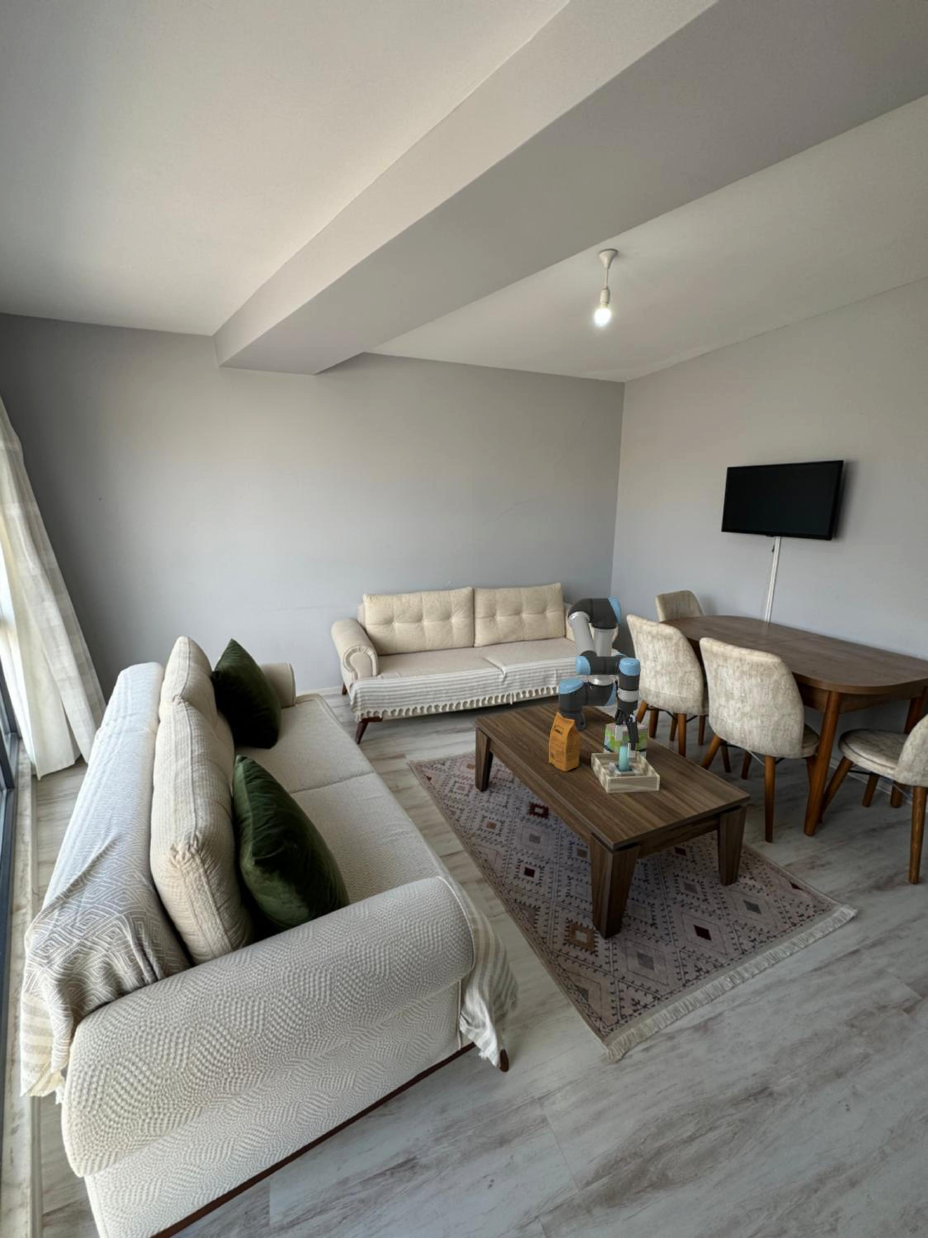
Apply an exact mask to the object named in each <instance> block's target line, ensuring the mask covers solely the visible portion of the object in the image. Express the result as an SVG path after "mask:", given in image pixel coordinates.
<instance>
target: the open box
mask: <svg viewBox="0 0 928 1238" xmlns="http://www.w3.org/2000/svg"><path fill="white" fill-rule="evenodd" d="M619 753H620V752H616V753H604V752H600V753H599V752H597V753H591V756H590V757H591V758H590V759H591V763H590V764H591V765H590V767H591V770H592V771H593V772H594V774H595V776H596V777H597V779H598V781H599V782H600V784H601V786H602V787H603V789H604V790H605V792H606V794H620V793H622V794H623V793H639V792H640V793H641V792H659V791H660V782H661V781H660V780H661V776H660V775H659V774H658V772H657V771H656V770H655V769H654V767H653V766H652V765H651V764H650V762H649V761H648V760H647V759H646V758H644V757H643V756H642V755H641V753H640V752H639V751H638V752H636V753H635V758H630V765H629V771H628V772H619Z"/></svg>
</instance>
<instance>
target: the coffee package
mask: <svg viewBox="0 0 928 1238" xmlns="http://www.w3.org/2000/svg"><path fill="white" fill-rule="evenodd" d="M575 723H576V721H575V720H572V719H567V718H563V717H562V715H561V714H560V713H559V712H558V711H557V712H556V715H555V716H554V720H553V723H552V726H551V729H550V735H549V743H548V763H550V764H552V765H553V766H554V767H555V768H556V769H557V770H560V771H562V772H568V771H570V770H573V769H576V768H577V767H579V766H580V761H579V760H580V745H581V743H580V740H581V734H580V732H579V731H578V730H577V728H576V726H575Z"/></svg>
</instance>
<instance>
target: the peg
mask: <svg viewBox="0 0 928 1238" xmlns="http://www.w3.org/2000/svg"><path fill="white" fill-rule="evenodd" d="M629 765H630V758H628V746H621V747H620V753H619V772H628V771H629Z"/></svg>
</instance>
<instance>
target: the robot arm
mask: <svg viewBox="0 0 928 1238" xmlns="http://www.w3.org/2000/svg"><path fill="white" fill-rule="evenodd" d="M566 615H567V617H566V618H567V623H568V626H569V627H570V628H571V632H572V635H573V638H574V639H573V640H574V643H575V648H576V650H577V651H576V652H577V655H578V656H576V657H575V659H574V661H575V662H574V667H575V673H576V674H577V675H578V676H588V677H587V681H584V680H583V679H582V678H580V677H569V678H565V679H562V680H561V681H560V682H559V685H558V689H557V690H558V710H557V712H559V713H560V714H561V715H562V717H563V718H567V719H572V720H575V721H576V723H575V726H576V728H577V730H578V732H579V731H582V730H584V729H585V728H586V726H587V725H586V723H587V722H586V718H585V716H584V715H585V714H584V712H583V711H584V710H583V707H609V706H612V705H613V704H614V702H615V701H616V697H617V696H618V697H617V703H616V705H617V707H616V712H615V714H614V717H613V721H614V723H615V724H616V732H615V741H622V736H623V724H624V723H623V722H624V721H625V725H626V726H627V730H628V735H629V740H630V741H628V758H635V753H636V743H639V735H638V727H637V722H638V716H635V715H634V712H635V711H637V710H638V708H639V699H640V698H639V696H640V680H641V671H642V669H641V661H640V660H639V659H637V658H634V657H628V656H627V655H626V654H624V653H615V654H614V655H612V653H613V652H612V651H613V639H614V631H615V630H616V629H617V627H618V625H619V624H621V623H622V621H623V614H622V608H621V604H620V601H619V600H618V598H614V597H595V598H594V597H593V598H592V597H590V598H589V597H586V598H581V599H578V600H576V601H575V602H573V604H572V605H571V606H570V607H569V610H568V612H567V614H566ZM590 626H591V627H590ZM591 628H592V629H593V634H592V631H591ZM611 676H617V677H618V689H617V686H616V683H615V682H613V681H614V680H613V679H612V678H611ZM616 695H617V696H616Z"/></svg>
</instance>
